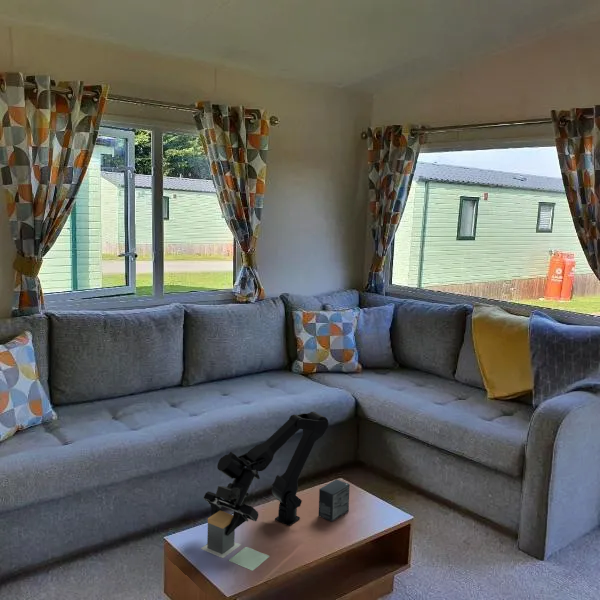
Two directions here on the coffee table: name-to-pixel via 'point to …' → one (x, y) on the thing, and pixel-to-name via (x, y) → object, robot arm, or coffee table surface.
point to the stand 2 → (249, 558)
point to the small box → (334, 500)
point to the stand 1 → (219, 553)
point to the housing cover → (220, 519)
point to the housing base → (219, 539)
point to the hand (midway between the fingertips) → (218, 532)
